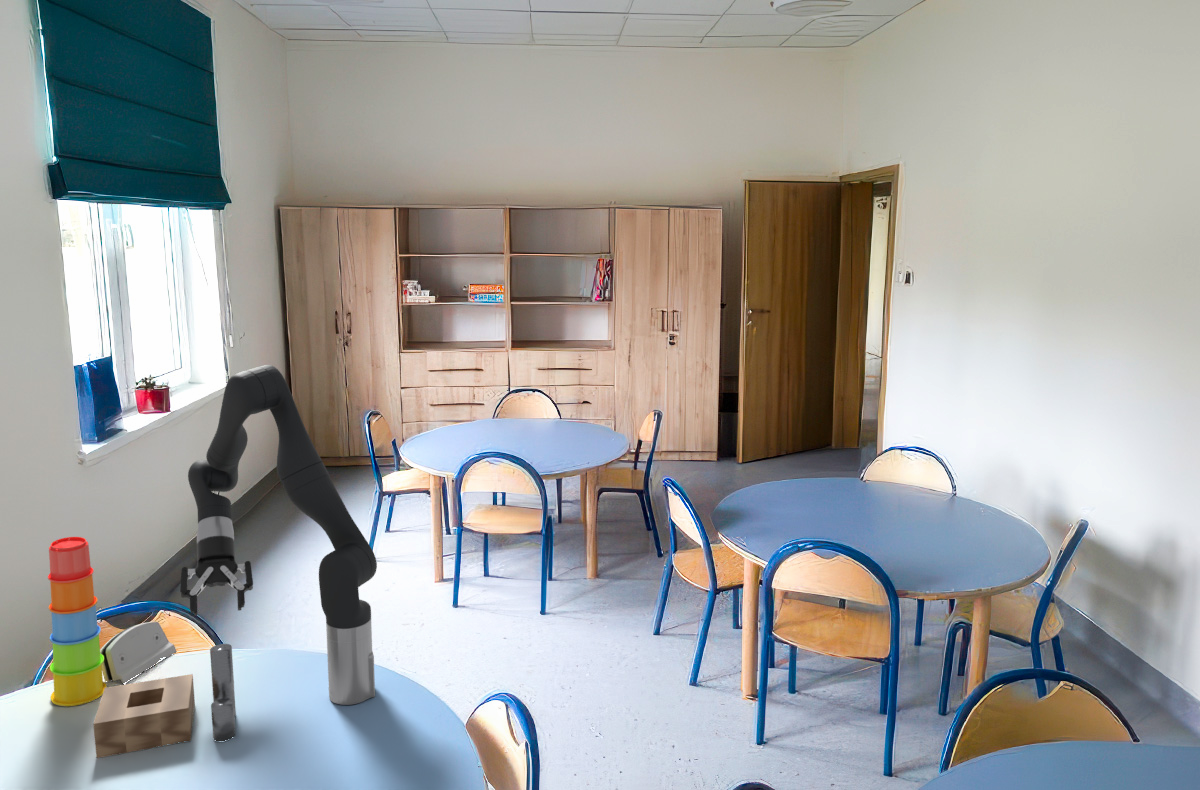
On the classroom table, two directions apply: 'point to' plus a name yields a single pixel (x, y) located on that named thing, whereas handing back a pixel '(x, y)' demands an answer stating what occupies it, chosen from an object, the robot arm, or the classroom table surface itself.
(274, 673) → the classroom table surface
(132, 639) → the grey curved housing
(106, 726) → the bore block
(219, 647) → the long pin
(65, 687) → the stacking cups
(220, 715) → the short pin
